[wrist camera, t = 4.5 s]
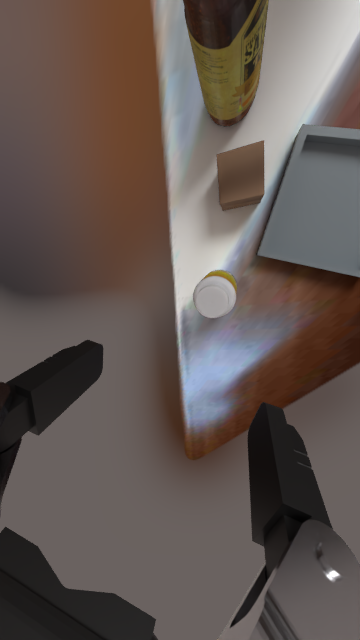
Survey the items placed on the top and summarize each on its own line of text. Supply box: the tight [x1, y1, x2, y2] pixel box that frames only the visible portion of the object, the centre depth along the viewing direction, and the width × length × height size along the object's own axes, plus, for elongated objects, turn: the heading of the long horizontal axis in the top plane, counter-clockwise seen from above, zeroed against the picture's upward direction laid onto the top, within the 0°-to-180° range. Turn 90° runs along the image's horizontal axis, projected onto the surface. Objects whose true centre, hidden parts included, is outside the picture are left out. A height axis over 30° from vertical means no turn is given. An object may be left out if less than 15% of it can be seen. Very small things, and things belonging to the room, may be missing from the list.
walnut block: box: [217, 140, 264, 211], centre depth 24 cm, size 5×5×5 cm
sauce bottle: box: [183, 0, 269, 126], centre depth 14 cm, size 7×6×20 cm
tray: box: [256, 124, 360, 277], centre depth 24 cm, size 14×14×2 cm
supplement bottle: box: [193, 270, 237, 318], centre depth 27 cm, size 6×6×10 cm
